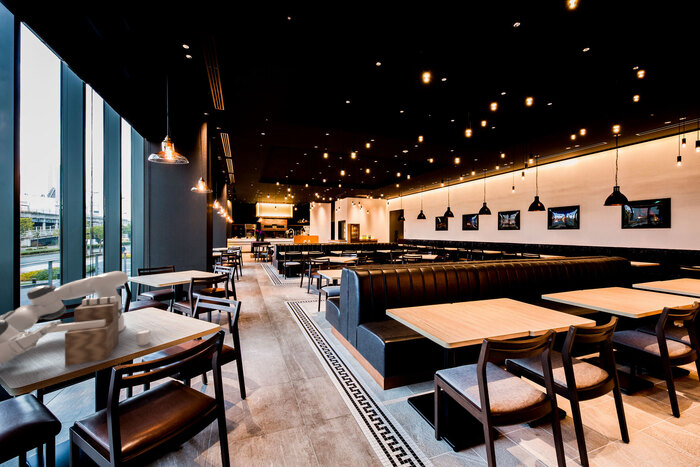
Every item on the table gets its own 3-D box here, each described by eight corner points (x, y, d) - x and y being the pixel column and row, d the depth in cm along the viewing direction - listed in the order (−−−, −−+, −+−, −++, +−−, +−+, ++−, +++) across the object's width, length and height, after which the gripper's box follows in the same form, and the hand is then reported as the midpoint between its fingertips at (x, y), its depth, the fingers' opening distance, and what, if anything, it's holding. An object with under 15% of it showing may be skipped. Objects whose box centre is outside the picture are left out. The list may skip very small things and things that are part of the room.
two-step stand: (65, 365, 139) (64, 315, 139) (82, 347, 160) (82, 303, 160) (106, 359, 147) (106, 311, 146) (118, 342, 168) (118, 300, 168)
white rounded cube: (141, 341, 170) (141, 329, 170) (153, 340, 171) (153, 329, 171) (133, 345, 164) (133, 333, 163) (145, 345, 164) (145, 333, 164)
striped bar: (81, 305, 157) (81, 300, 157) (84, 304, 159) (83, 298, 159) (114, 302, 163) (114, 297, 163) (115, 301, 166) (115, 296, 166)
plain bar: (46, 333, 139) (46, 327, 139) (49, 331, 142) (49, 325, 142) (103, 326, 150) (103, 320, 149) (105, 324, 152) (105, 319, 152)
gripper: (39, 338, 147) (70, 322, 152) (17, 354, 129) (53, 334, 134) (31, 329, 145) (62, 312, 151) (7, 343, 127) (44, 324, 133)
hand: (58, 323), depth 142 cm, fingers open, 4 cm apart
